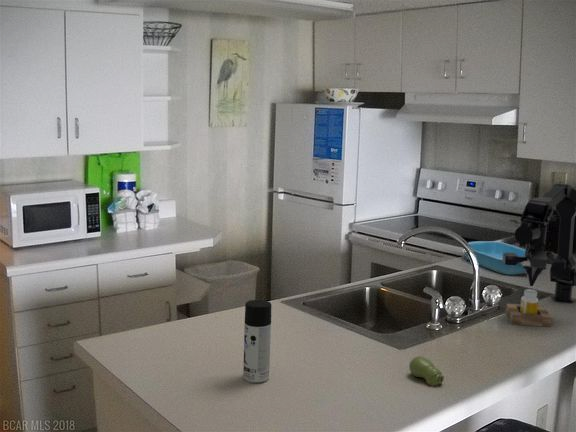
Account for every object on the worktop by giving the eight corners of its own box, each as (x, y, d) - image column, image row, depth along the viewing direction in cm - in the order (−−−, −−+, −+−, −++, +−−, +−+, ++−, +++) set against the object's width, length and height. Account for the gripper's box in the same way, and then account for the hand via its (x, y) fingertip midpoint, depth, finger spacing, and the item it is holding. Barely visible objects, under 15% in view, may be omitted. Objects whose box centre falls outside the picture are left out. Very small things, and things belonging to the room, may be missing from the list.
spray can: (242, 372, 180) (244, 298, 176) (269, 372, 180) (270, 299, 176) (243, 383, 173) (244, 307, 169) (270, 383, 174) (272, 307, 170)
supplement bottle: (516, 318, 228) (518, 290, 226) (525, 315, 231) (527, 287, 229) (530, 323, 224) (533, 294, 222) (539, 319, 227) (542, 291, 225)
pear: (421, 351, 183) (450, 370, 176) (417, 368, 185) (446, 387, 178) (407, 355, 180) (435, 374, 173) (403, 373, 182) (431, 393, 174)
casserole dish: (452, 257, 305) (453, 241, 304) (493, 253, 314) (494, 238, 312) (508, 280, 272) (509, 262, 271) (552, 275, 281) (554, 258, 279)
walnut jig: (505, 311, 234) (506, 303, 233) (542, 314, 232) (543, 305, 232) (512, 324, 222) (512, 315, 222) (551, 326, 221) (552, 318, 220)
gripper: (510, 243, 215) (505, 291, 218) (573, 246, 213) (567, 295, 216) (504, 235, 226) (500, 281, 229) (563, 238, 224) (558, 285, 227)
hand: (531, 285), depth 225 cm, fingers closed
